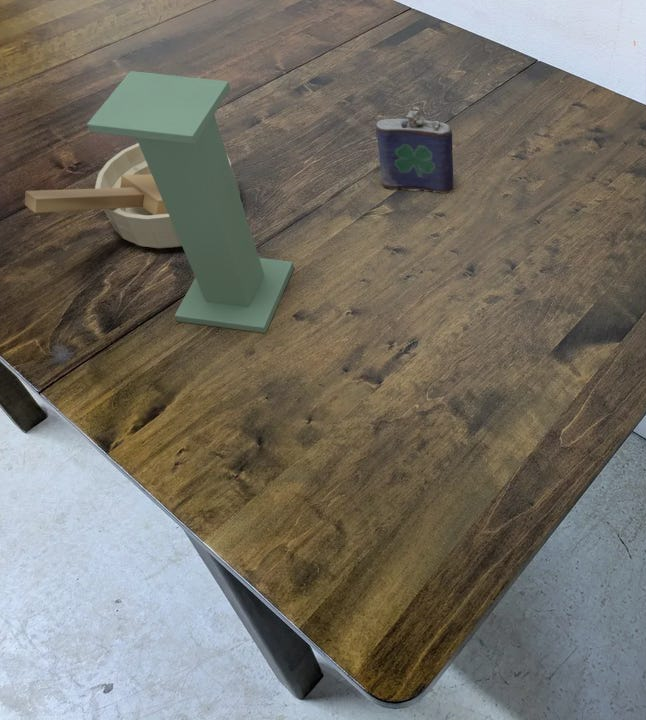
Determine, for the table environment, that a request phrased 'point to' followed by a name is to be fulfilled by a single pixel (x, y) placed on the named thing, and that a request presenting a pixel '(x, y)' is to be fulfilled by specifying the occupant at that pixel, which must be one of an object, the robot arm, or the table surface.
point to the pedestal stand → (198, 196)
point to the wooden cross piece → (100, 197)
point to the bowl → (137, 220)
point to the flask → (415, 153)
